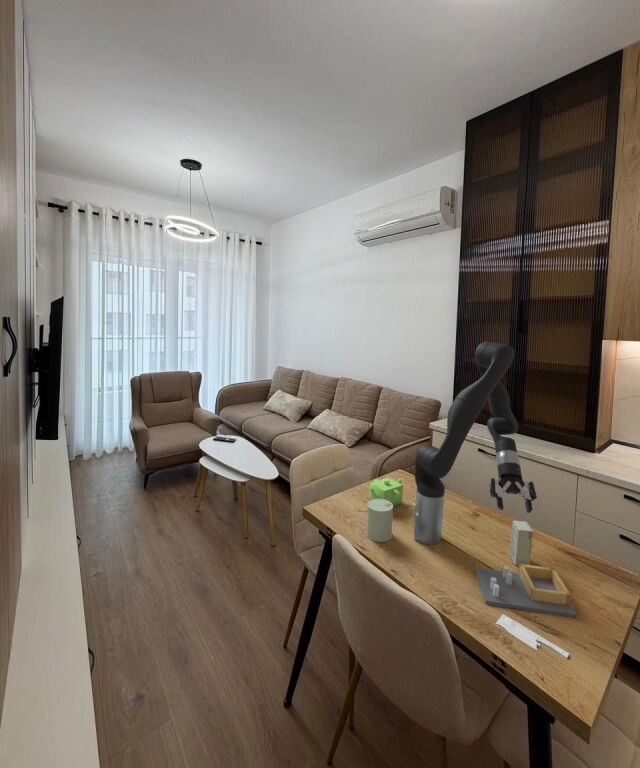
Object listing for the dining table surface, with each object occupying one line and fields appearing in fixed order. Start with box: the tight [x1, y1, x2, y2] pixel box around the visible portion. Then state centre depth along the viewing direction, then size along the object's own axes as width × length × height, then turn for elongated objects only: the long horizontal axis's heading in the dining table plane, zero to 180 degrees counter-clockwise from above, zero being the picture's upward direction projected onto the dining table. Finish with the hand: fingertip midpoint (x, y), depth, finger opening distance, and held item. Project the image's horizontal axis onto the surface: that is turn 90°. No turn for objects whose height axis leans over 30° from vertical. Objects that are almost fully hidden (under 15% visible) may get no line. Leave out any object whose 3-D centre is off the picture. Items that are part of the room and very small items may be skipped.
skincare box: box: [509, 520, 534, 567], centre depth 118 cm, size 6×4×12 cm
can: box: [365, 499, 394, 543], centre depth 131 cm, size 9×9×12 cm
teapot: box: [367, 477, 405, 507], centre depth 153 cm, size 15×13×11 cm
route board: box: [474, 564, 577, 618], centre depth 105 cm, size 22×14×4 cm, turn 79°
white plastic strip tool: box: [495, 613, 570, 660], centre depth 89 cm, size 5×15×1 cm, turn 40°
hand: (515, 510), depth 124 cm, fingers open, 8 cm apart
